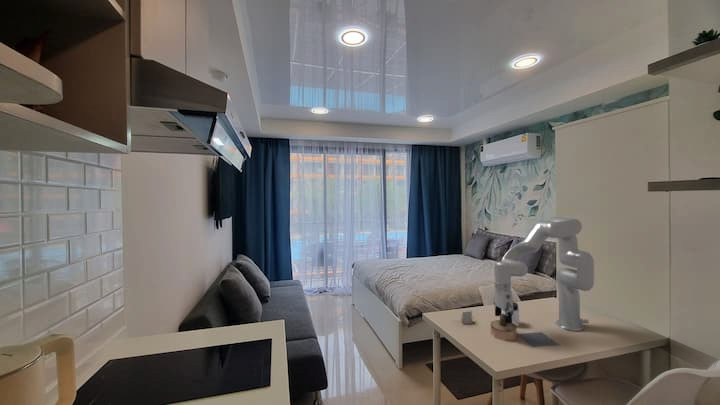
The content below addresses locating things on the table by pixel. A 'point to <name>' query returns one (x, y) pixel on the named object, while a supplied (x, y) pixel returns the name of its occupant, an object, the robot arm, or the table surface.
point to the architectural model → (466, 317)
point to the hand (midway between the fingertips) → (503, 319)
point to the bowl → (503, 334)
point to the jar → (514, 314)
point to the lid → (503, 325)
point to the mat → (537, 339)
